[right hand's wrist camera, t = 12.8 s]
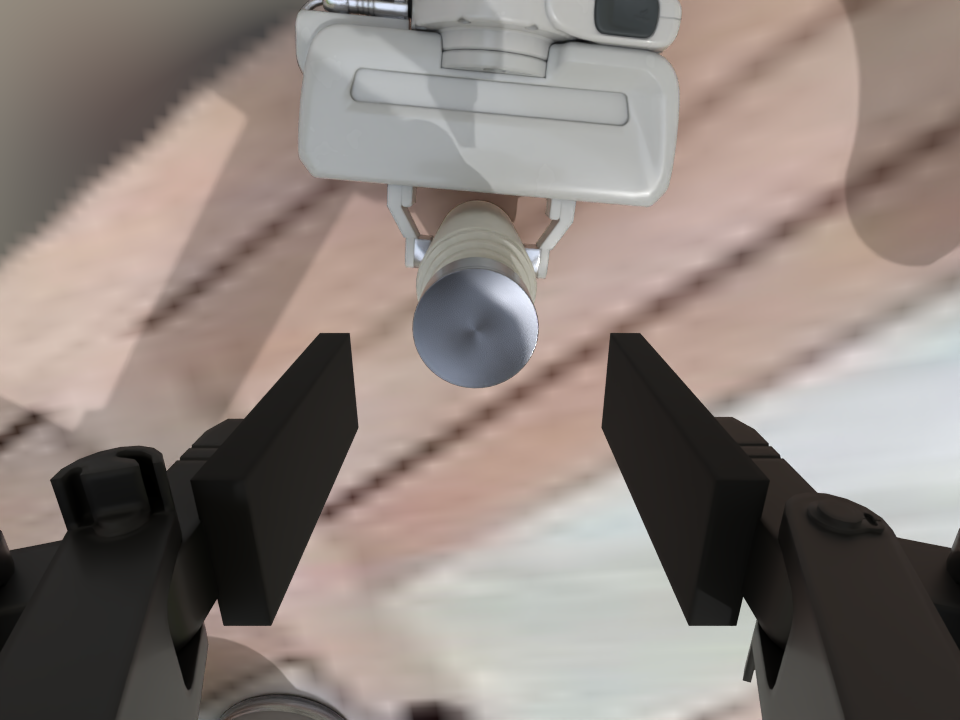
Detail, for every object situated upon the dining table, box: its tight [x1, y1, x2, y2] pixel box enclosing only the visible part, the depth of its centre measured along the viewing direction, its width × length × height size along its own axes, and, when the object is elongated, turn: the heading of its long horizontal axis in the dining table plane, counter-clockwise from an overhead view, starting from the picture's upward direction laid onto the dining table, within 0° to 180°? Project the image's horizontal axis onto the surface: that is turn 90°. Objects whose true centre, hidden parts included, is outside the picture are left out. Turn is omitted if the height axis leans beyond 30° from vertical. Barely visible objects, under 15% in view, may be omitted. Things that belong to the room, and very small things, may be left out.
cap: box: [413, 257, 539, 388], centre depth 20 cm, size 4×4×2 cm
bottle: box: [416, 200, 536, 304], centre depth 28 cm, size 6×6×20 cm
